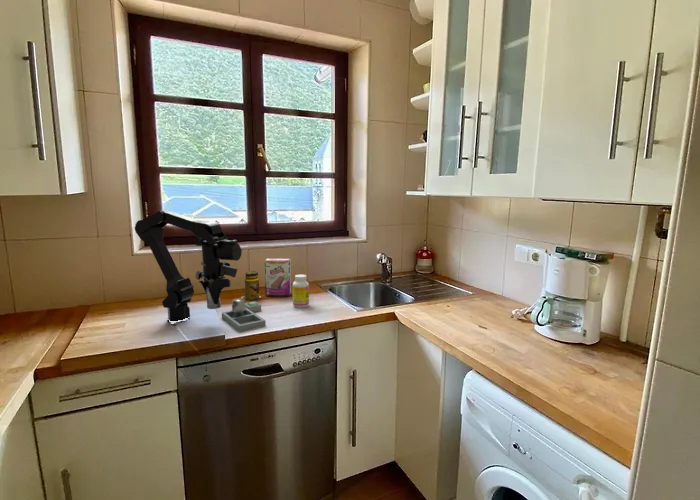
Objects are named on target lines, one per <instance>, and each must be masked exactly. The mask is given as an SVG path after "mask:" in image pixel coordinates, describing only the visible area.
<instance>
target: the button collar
mask: <svg viewBox="0 0 700 500" xmlns="http://www.w3.org/2000/svg"><path fill="white" fill-rule="evenodd" d="M255 302H256V305H253V306H249V302H246V303H245V308H247V309H249V310H250V311H252V312H253V313H257V312H260V311H261V312H262V304H261V303H260V302H257V301H255Z"/></svg>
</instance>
